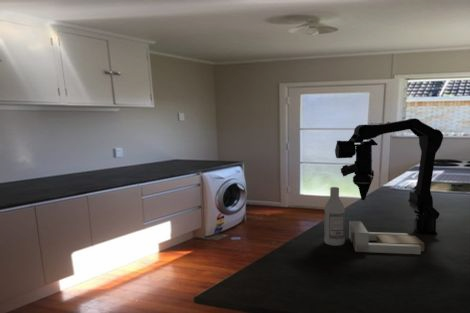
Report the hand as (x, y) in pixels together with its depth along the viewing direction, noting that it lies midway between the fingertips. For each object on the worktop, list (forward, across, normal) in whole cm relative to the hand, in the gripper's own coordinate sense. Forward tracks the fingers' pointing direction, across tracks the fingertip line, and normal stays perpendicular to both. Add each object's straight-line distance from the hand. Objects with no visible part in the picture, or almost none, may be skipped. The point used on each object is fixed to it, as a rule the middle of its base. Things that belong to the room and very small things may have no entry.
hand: (364, 197), depth 134 cm
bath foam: (+14, +17, -9) cm, 23 cm away
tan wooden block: (+14, +12, +12) cm, 22 cm away
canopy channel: (+14, +14, +6) cm, 20 cm away
